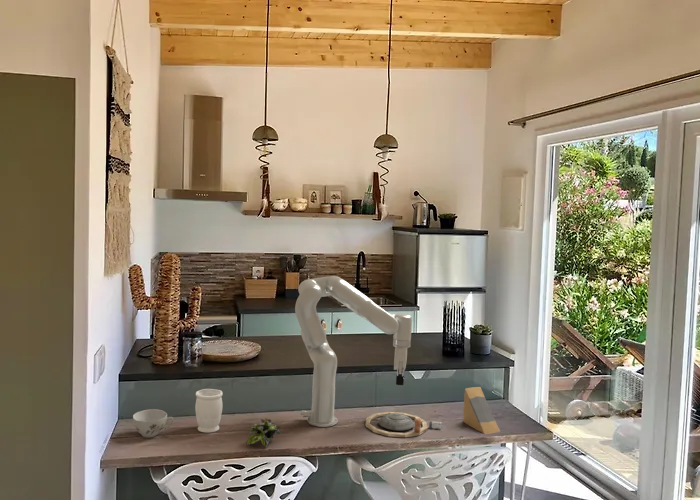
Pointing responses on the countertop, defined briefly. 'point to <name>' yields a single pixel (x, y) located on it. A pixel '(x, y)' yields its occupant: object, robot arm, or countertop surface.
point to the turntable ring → (416, 432)
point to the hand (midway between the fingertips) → (399, 384)
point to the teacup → (151, 422)
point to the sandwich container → (478, 411)
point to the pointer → (435, 425)
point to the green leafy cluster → (263, 432)
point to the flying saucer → (396, 422)
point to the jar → (208, 409)
